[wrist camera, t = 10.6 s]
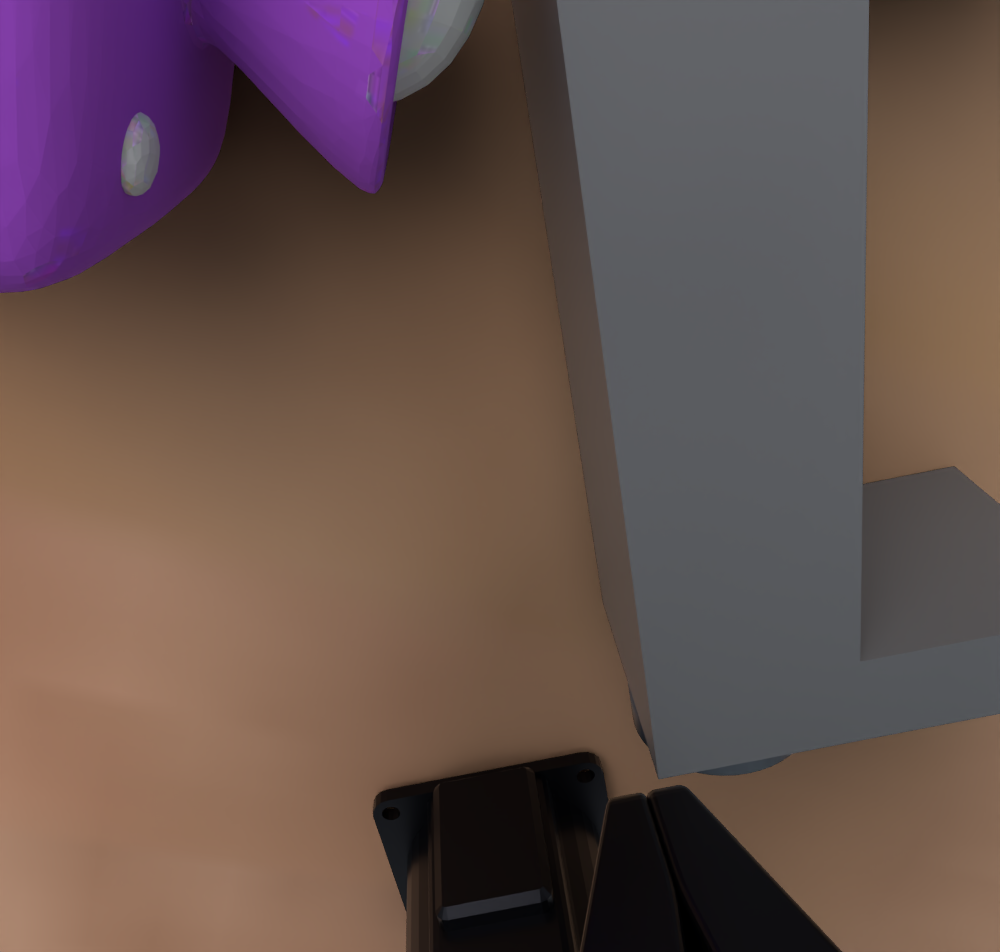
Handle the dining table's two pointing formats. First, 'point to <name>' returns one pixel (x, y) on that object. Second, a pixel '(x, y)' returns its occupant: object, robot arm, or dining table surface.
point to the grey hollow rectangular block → (743, 385)
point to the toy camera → (186, 105)
